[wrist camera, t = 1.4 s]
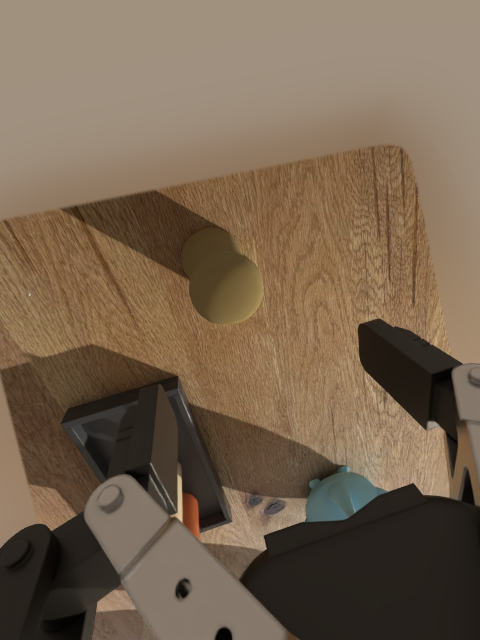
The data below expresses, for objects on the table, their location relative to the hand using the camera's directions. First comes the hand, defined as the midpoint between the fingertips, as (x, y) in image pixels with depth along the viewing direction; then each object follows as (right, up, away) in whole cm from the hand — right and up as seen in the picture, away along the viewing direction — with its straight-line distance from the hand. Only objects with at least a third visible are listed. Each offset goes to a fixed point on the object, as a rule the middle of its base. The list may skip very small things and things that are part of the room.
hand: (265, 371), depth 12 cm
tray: (-11, -17, +27) cm, 34 cm away
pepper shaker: (-4, +8, +18) cm, 20 cm away
